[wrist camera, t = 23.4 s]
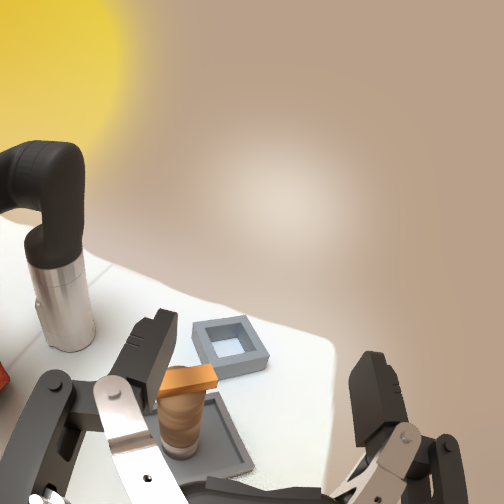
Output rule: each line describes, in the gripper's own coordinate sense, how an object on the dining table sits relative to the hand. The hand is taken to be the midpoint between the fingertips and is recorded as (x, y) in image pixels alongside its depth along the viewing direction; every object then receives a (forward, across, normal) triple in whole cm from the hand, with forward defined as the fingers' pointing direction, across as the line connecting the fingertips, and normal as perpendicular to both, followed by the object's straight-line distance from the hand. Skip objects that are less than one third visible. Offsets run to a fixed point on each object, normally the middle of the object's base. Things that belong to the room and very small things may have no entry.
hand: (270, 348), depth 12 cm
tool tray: (+7, +5, +32) cm, 33 cm away
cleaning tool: (+7, +5, +31) cm, 32 cm away
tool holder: (+26, +1, +32) cm, 41 cm away
